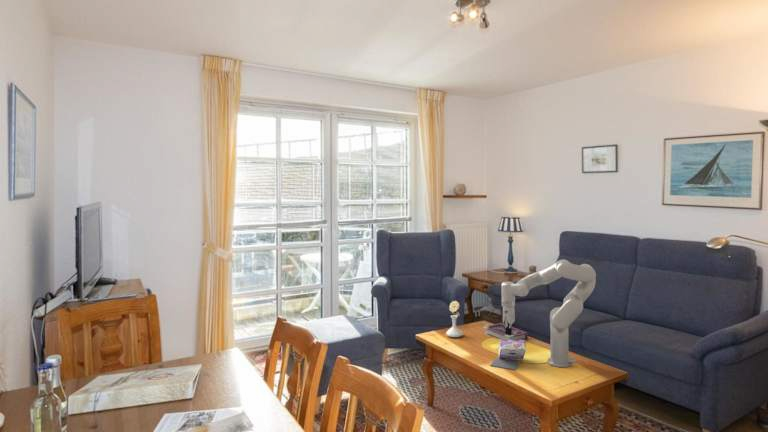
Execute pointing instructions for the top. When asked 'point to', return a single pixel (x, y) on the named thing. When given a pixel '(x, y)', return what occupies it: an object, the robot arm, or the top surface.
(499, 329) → the book
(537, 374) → the top surface
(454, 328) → the flower in vase
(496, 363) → the mat
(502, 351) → the candy box
